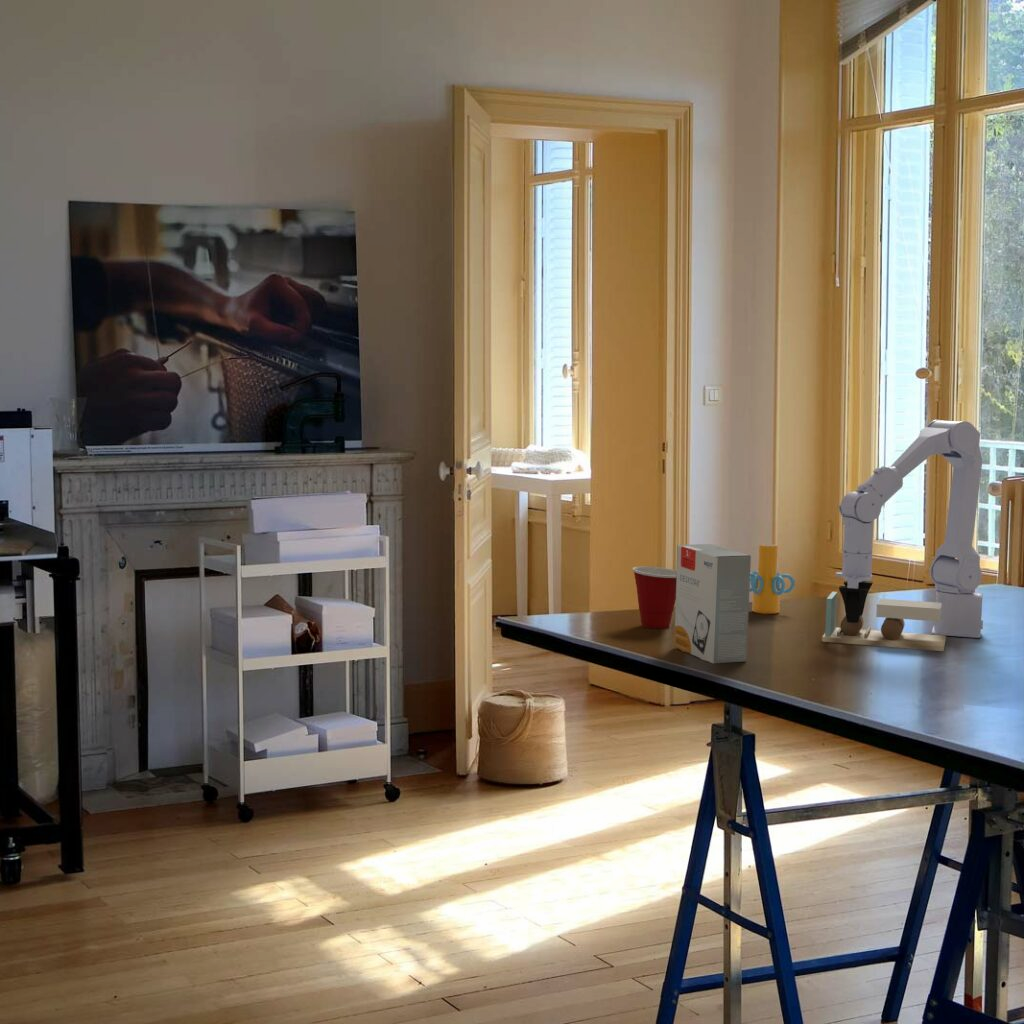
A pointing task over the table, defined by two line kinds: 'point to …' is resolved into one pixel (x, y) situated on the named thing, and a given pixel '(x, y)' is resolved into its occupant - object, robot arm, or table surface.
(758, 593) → the cylinder
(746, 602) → the hard drive box
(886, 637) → the roller bed
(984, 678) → the table surface
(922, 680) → the table surface
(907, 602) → the slab
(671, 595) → the plastic cup
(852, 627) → the roller
